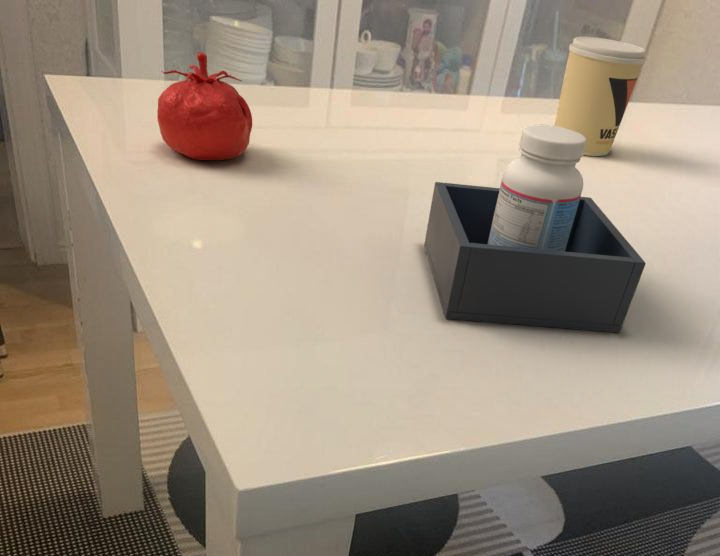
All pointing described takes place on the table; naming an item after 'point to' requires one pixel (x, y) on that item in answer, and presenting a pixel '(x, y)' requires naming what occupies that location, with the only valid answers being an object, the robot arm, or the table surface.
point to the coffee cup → (598, 89)
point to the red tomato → (204, 115)
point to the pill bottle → (540, 190)
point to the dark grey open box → (528, 267)
